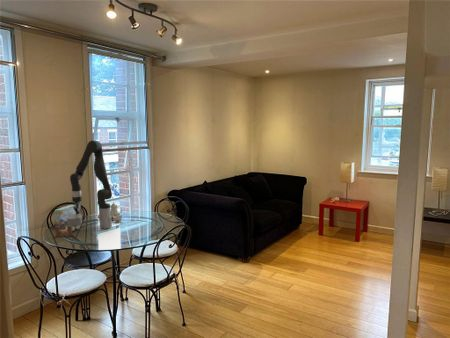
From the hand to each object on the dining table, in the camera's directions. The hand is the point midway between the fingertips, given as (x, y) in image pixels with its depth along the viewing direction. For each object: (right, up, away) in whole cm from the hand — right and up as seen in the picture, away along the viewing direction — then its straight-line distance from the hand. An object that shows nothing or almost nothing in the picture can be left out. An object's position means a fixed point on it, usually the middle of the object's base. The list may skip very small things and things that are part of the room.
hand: (77, 215), depth 288 cm
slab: (+2, -5, -10) cm, 11 cm away
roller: (+3, -10, -26) cm, 28 cm away
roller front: (+2, -10, -19) cm, 22 cm away
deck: (+2, -11, -19) cm, 22 cm away
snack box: (-14, -9, +7) cm, 18 cm away
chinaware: (+23, -7, +19) cm, 31 cm away
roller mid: (+3, -10, -14) cm, 17 cm away
